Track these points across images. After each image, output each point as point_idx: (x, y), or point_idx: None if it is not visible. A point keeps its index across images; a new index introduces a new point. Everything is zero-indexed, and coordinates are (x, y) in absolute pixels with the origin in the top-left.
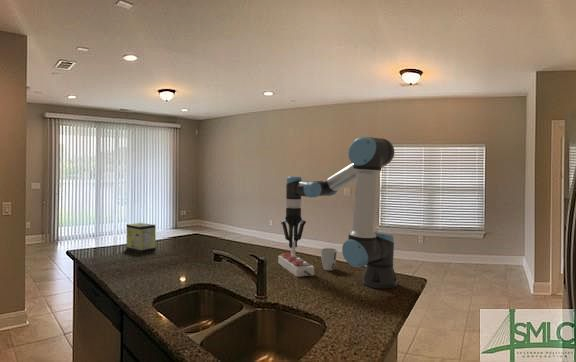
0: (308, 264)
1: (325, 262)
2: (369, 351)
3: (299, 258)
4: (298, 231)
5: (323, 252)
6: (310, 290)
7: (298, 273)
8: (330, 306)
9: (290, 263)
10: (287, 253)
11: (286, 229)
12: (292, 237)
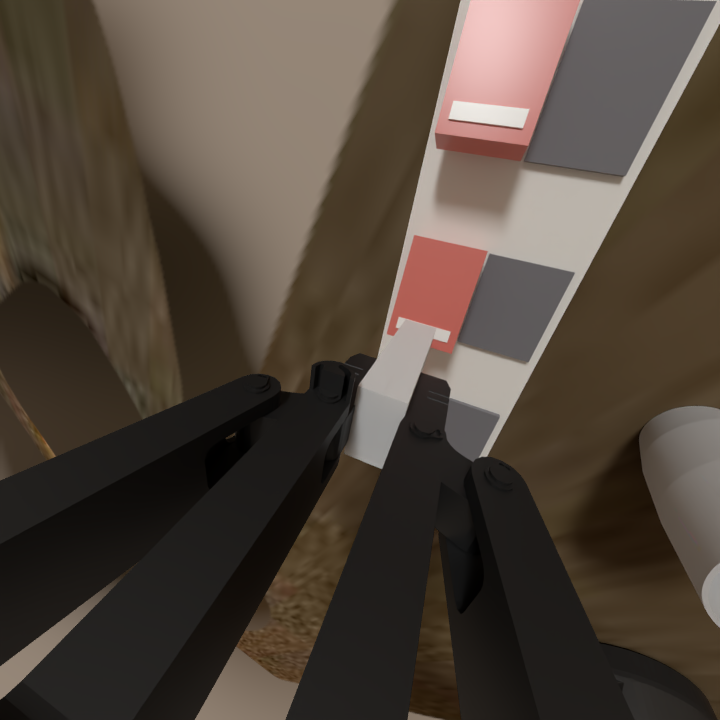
0: (468, 451)
1: (650, 492)
2: (276, 672)
3: (594, 231)
4: (522, 684)
5: (694, 564)
6: (328, 540)
7: None
8: (311, 610)
9: (385, 346)
10: (482, 139)
11: (23, 623)
12: (311, 502)
